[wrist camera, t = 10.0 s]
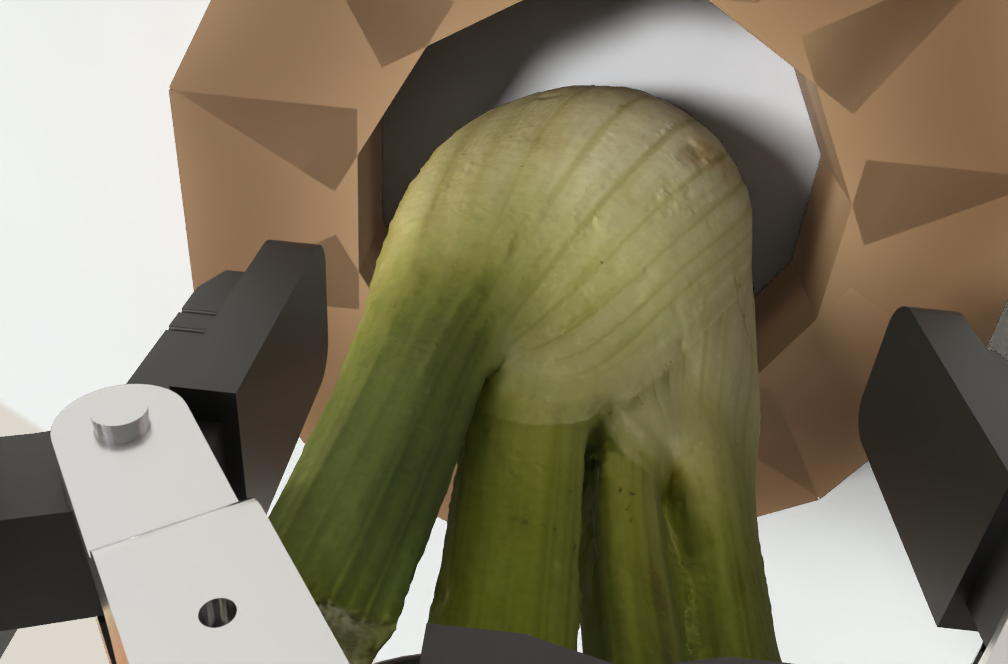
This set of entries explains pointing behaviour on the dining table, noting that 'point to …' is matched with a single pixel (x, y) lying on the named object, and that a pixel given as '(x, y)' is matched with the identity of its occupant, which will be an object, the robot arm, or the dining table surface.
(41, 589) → the robot arm
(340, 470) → the fennel bulb
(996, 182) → the walnut ring
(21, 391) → the dining table surface
